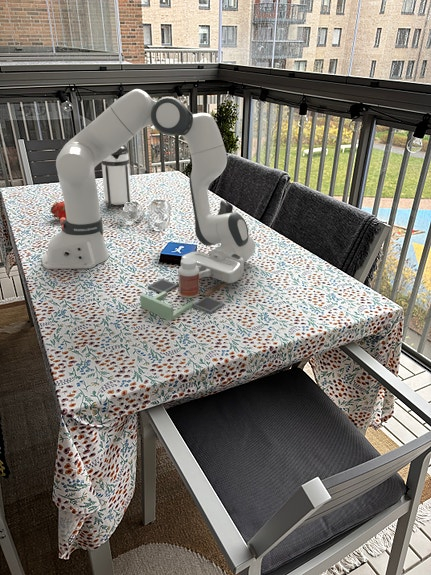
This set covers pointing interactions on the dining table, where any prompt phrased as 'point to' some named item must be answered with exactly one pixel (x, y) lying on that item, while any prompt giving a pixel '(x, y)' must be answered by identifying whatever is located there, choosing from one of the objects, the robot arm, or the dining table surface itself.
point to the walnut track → (213, 288)
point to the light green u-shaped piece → (162, 306)
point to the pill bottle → (188, 278)
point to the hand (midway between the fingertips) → (195, 275)
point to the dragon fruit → (58, 210)
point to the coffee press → (117, 177)
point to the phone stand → (225, 208)
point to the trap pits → (203, 304)
